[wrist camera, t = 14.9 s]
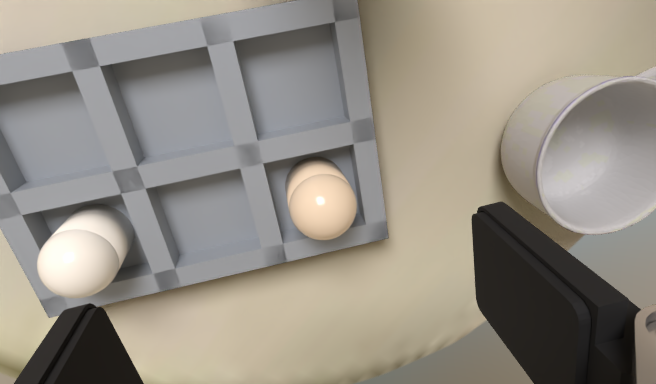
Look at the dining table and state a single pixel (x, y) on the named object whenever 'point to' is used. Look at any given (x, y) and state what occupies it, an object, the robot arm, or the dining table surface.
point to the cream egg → (85, 251)
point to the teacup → (586, 150)
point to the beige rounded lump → (320, 198)
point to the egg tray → (188, 141)
